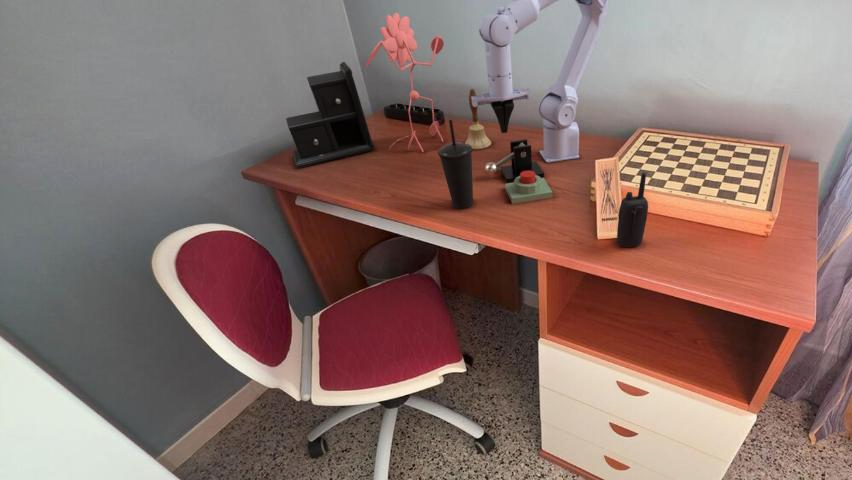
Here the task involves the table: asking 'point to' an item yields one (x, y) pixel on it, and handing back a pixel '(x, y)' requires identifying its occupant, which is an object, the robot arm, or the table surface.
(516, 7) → the robot arm
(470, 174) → the drinking cup
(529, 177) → the button
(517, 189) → the button box
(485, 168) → the tap lever
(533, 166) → the black lever mount
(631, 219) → the two-way radio
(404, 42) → the figurine
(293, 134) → the black drawer organizer
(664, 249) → the table surface
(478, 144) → the hand bell
